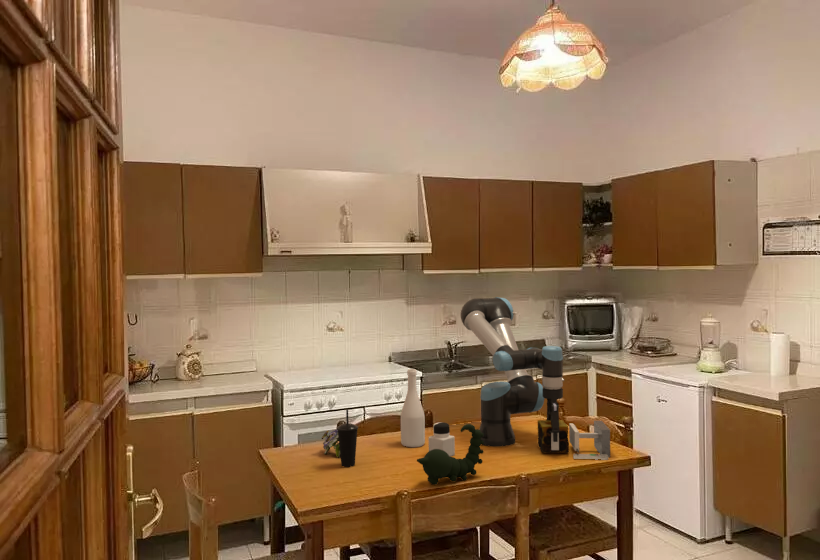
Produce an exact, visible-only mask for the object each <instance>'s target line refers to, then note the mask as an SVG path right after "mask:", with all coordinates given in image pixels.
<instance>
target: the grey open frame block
mask: <svg viewBox="0 0 820 560" xmlns="http://www.w3.org/2000/svg"><path fill="white" fill-rule="evenodd" d="M593 433H598V438H593V440H594V441H593V442H594V443H593V446H594V448H595V449H596V451H597V452H598V453H573V456H572V457H573V460H574V459H595V461H599V460H598V459H601V460H600V461H608V460H609V458H611V429H610V428H609V427H608V426H607V425H606V423H604V421H603V420H593ZM599 453H600V454H599Z"/></svg>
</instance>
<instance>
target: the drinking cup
mask: <svg viewBox="0 0 820 560" xmlns="http://www.w3.org/2000/svg"><path fill="white" fill-rule="evenodd" d="M345 410H346V412H345V415H346V416H345V418H346V419H345V421H346V423H342V424H340V425H338V426H336V429H337V430H338V438H339V441H338V443H339V447H340V464H341V467H343V466H344V468H350V466H352V467H354V466H355V465H356V454H357V440H358V430H359V426H358V425H356V424H354V423H350V422H349V408H347V409H345Z"/></svg>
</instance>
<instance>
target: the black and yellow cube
mask: <svg viewBox="0 0 820 560" xmlns="http://www.w3.org/2000/svg"><path fill="white" fill-rule="evenodd" d="M559 430H560V432H559V450H551V433H550V431H552V428H551V420H546V419H543V420H542V419H539V420H538V419H537V445H538V448H539V450H540V451H541V453H544V454H545V453H546V454H553V453H554V454H555V453H556V454H557V453H564V454H565V453H570V441H569V425H568V424H567V423H565V421H564V420H563V419H559Z"/></svg>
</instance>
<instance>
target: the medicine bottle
mask: <svg viewBox="0 0 820 560" xmlns="http://www.w3.org/2000/svg"><path fill="white" fill-rule="evenodd" d="M432 427H433V428H432V429H433V431H432V432H433V435H430V436H428V452H429V451H431V450H433V449H441V450H443V451H445V452H446V453H447V454H448V455H449V456H450V457H454V456H455V455H456V452H455V451H456V445H455V441H456V439H455V436H454V435H450V432H451V430H450V428H451V427H450V423H447V422H445V421H444V422H436V423H435V422H434V424H433V426H432Z"/></svg>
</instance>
